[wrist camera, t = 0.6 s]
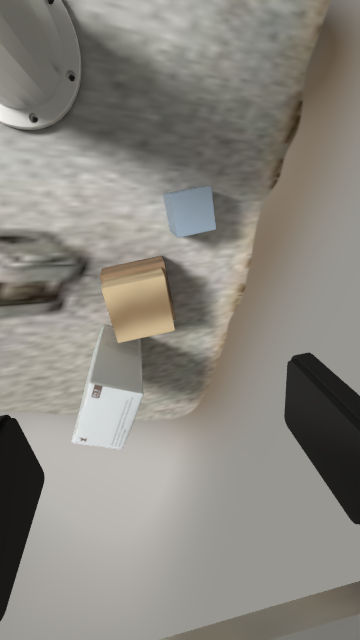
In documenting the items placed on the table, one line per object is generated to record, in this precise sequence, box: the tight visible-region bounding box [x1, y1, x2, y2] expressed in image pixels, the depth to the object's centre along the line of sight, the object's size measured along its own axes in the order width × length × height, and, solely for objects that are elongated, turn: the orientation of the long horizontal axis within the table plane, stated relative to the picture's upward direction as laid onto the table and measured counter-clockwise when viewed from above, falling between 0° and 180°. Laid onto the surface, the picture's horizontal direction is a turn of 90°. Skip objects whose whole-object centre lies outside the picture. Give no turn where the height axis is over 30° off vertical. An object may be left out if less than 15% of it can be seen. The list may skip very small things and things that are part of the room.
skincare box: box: [72, 325, 143, 449], centre depth 35 cm, size 8×6×15 cm
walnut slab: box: [100, 256, 176, 320], centre depth 37 cm, size 8×8×4 cm
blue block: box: [163, 186, 216, 238], centre depth 32 cm, size 4×4×6 cm
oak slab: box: [102, 267, 175, 343], centre depth 33 cm, size 7×7×4 cm
